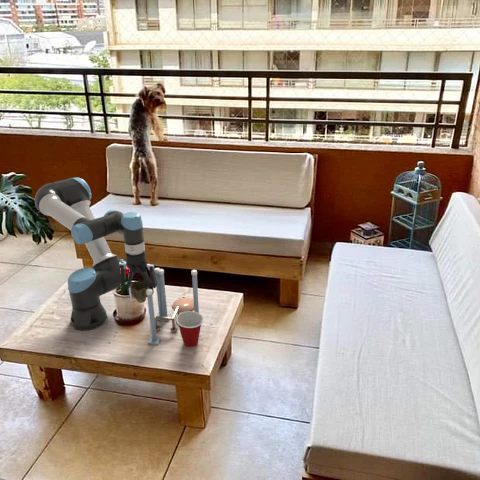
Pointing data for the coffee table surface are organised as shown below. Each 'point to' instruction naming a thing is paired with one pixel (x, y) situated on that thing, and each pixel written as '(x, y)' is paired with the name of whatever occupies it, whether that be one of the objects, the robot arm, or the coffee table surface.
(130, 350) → the coffee table surface
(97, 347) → the coffee table surface
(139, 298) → the ornate lamp shade
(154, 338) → the gate
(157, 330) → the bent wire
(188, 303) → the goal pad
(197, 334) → the plastic cup
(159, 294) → the gate
